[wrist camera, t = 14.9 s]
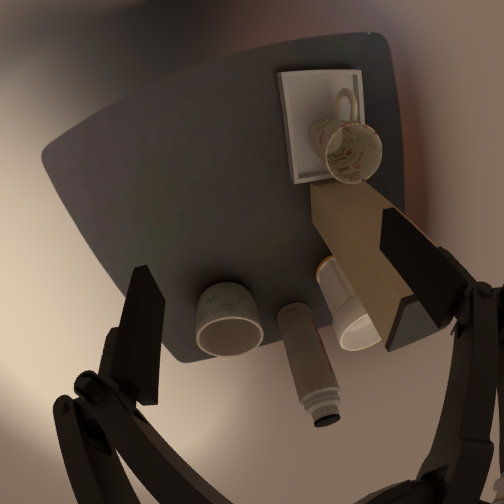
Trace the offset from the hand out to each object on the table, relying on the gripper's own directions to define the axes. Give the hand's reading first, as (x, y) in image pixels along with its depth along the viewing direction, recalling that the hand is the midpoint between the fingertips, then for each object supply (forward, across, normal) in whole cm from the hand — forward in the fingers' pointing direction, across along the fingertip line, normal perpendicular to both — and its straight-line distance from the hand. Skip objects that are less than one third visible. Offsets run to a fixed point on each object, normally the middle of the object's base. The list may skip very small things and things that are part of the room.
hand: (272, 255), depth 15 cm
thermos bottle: (+31, +6, -42) cm, 52 cm away
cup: (+31, +16, -31) cm, 47 cm away
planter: (+31, -8, -32) cm, 45 cm away
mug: (+29, +15, 0) cm, 33 cm away
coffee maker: (+30, +15, -5) cm, 34 cm away
